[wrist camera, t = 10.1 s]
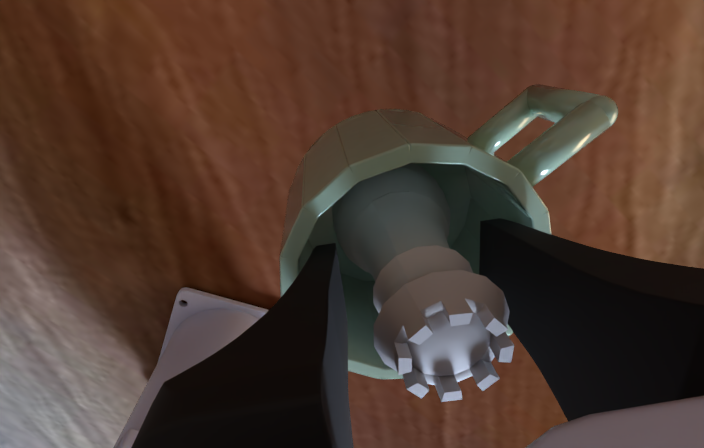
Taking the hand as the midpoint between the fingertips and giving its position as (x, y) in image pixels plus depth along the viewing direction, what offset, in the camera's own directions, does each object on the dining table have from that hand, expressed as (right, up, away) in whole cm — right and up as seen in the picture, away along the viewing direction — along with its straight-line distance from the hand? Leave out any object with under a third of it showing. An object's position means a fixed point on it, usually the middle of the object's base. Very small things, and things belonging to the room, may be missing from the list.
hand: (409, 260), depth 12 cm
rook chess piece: (0, +2, +3) cm, 4 cm away
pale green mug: (+1, +3, +3) cm, 4 cm away
